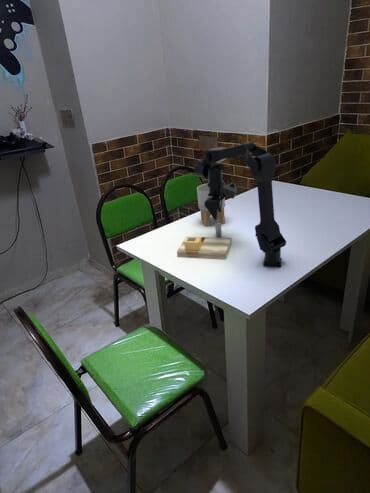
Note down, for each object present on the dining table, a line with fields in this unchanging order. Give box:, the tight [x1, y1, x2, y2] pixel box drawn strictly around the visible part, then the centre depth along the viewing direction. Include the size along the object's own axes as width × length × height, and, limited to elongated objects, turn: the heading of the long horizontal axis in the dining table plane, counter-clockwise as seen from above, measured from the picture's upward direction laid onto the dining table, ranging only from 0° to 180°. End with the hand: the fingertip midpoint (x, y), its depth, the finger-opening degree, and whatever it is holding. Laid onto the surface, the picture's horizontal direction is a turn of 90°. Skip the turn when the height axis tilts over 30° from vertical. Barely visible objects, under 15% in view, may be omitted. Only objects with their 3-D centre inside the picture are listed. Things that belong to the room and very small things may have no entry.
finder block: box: [184, 236, 202, 250], centre depth 141 cm, size 5×6×4 cm
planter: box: [196, 182, 226, 227], centre depth 167 cm, size 13×13×18 cm
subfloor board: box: [176, 236, 232, 260], centre depth 144 cm, size 14×20×2 cm
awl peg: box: [214, 221, 223, 238], centre depth 150 cm, size 3×3×8 cm
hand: (217, 215), depth 147 cm, fingers open, 9 cm apart
